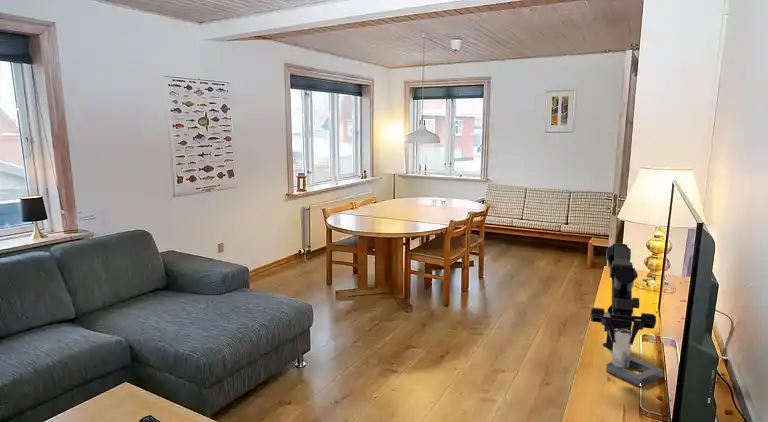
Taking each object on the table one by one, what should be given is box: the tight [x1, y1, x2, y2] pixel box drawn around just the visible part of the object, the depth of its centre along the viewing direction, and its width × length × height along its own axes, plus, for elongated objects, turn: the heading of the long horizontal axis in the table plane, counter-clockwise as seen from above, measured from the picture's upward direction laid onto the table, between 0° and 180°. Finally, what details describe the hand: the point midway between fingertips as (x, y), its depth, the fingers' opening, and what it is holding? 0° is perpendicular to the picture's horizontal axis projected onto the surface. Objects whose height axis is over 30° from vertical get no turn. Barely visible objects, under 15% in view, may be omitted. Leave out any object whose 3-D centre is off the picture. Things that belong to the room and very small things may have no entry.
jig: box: [605, 355, 664, 387], centre depth 160 cm, size 12×12×2 cm
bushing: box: [611, 328, 632, 367], centre depth 154 cm, size 5×5×11 cm
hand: (622, 343), depth 153 cm, fingers closed on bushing, 5 cm apart
